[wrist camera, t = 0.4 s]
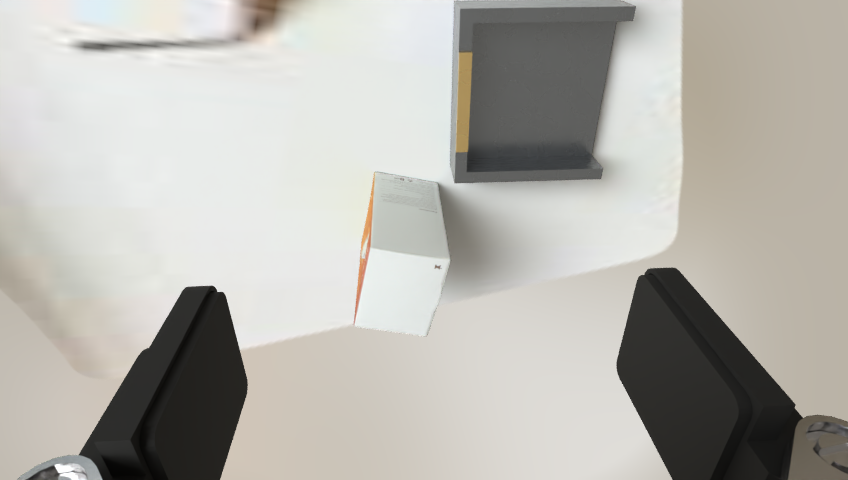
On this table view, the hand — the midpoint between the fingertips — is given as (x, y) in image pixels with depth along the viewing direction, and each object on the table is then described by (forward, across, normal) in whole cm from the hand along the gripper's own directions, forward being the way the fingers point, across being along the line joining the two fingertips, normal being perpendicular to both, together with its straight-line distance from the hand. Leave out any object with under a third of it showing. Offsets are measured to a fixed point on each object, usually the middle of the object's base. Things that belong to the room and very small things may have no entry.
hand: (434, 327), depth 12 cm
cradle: (+35, -11, +4) cm, 37 cm away
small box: (+36, +1, +16) cm, 39 cm away
